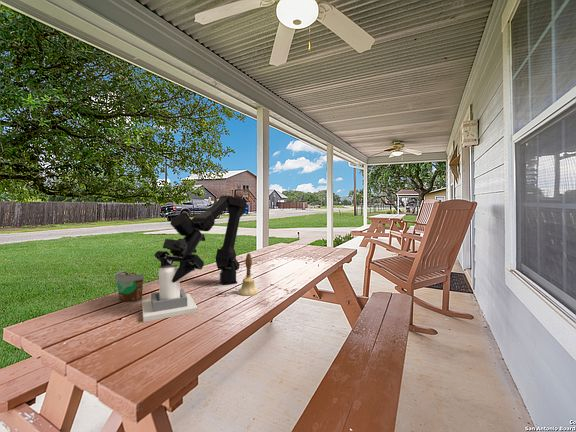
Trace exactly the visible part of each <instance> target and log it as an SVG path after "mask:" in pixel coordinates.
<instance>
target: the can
mask: <svg viewBox="0 0 576 432" xmlns="http://www.w3.org/2000/svg"><path fill="white" fill-rule="evenodd" d="M178 268H179V266H178V264H171V265H167V266H162V267H161V266H159V270H158V275H159V280H158V287H159V288H158V289H159V290H158V291H159V295H160V301H161V300H167V299H174V298H180V289H181V285H180V283H181V282H180V281H181V280H180V279H179V280H178V281H176V282H175V283H173V282H172V279H173V277H174V275H175V273H176V272H177V270H178Z"/></svg>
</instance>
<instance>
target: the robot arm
mask: <svg viewBox="0 0 576 432" xmlns="http://www.w3.org/2000/svg"><path fill="white" fill-rule="evenodd" d="M247 205H248V204H247V201H246V200H245V198H239V197H235V196H232V195H227V194H226V195H225V194H224V195H221V196H219V199H217V200H216V201H215V202H214V203H213V204H212V205H211V206H210V207H209V208H208V209H207V210H205V211H204V212H201V213H199V214H197V215H195V216H194V217H192V218H190V216H189V214H188V213H187V212H181V213H180V214H178V215H176V216H175V217H173V218H172V219H171V220H170V226H171V227H172V228H173V229H174V230H175V231H176V232H177V233H178V235H180V236H182V237H183V238H178V239H170V238H165V239H164V242H163V245H162V249H166V250H169V252H170V253H169V252H168V251H166V250H157V251H156V252H155V254H154V255H153V256H154V258H155V259H156V260H158V261H159V262H160V267H162V266H167V265H173V263H174V262H175V263H179V266H178V270H177V272H176V273H175V275H174V277H173V279H172V282H173V283H175V282H176V281H178V280H180V279H181V278H183V277H184V276H186V275H188V274H191V272H195V271H196V270H202V269H203V267H204V266H205V265H204V264H205V262H204V261H203V259H202V258H201V257H200V256H199V255H198V254H196V253H197V249H196V248H197V247H198V245H199V244H200V242H205V241H206V237H205V234H204V233H202V232H209V231H210V230H211V229H212V228H213V227H214V225H215V220H216V219H217V218H218V217H219V216H220V215H221V214H222V213H223V212H224V211H225V210H226V209H227V213H228V219H227V224H226V225H227V226H226V229H225V233H224V234H225V236H224V239H223V245H222V246H221V247H220V248H217V250H216V254H215V263H216V268H217V270H220V272H219V283H221V285H223V286H226V285H233V284H237V283H238V281H237V271H238V270H239V269H240V266H241V265H240V263H239V261H238V260H237V253H236V250H235V244H236V238H237V234H238V230H239V224H240V219H241V218H242V216H243V215H244V214H245V212H246V208H247ZM171 254H172V255H171ZM157 280H158V281H159V274H158V276H157Z"/></svg>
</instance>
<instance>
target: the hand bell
mask: <svg viewBox="0 0 576 432" xmlns="http://www.w3.org/2000/svg"><path fill="white" fill-rule="evenodd" d="M252 265H253V259H252V255H251V253H249V252H248V253H246V257H245V266H246V275H245V276H246V277H245V278H243V279H242V284H241V287H240V288H239V290H238V291H237V293H238V295H240V296H243V297H245V296H247V297H250V296H255V295H257V294H259V290H258V289H257V288H256V286H255V279H254V278H253V277H251V274H252V271H251V269H252Z"/></svg>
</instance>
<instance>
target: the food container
mask: <svg viewBox="0 0 576 432" xmlns="http://www.w3.org/2000/svg"><path fill="white" fill-rule="evenodd" d="M114 280H115V281H116V284H117V292H118V301H119V302H120V303H121V302H122V303H134V302H138V301H142V300H143V289H144V286H143V285H144V280H145V275H144V273H138V274H137V273H134V272H126V271H125V269H124V270H120V271H117V272H116V273H115V275H114Z"/></svg>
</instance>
